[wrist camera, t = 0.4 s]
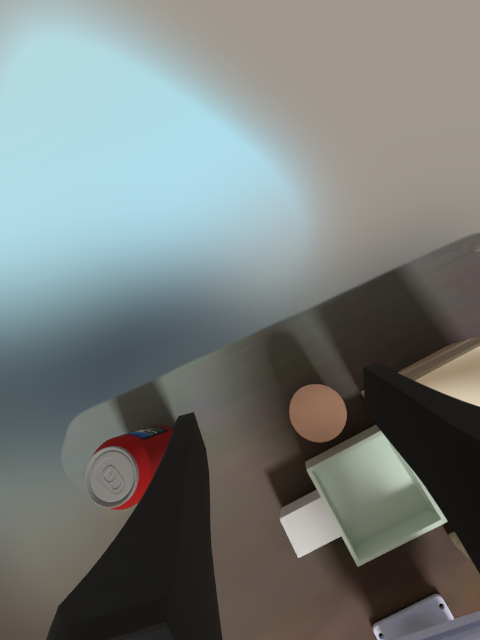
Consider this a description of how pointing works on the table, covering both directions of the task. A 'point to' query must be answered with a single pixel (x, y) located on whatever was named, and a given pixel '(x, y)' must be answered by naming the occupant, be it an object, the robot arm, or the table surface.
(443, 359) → the shelf
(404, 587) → the table surface
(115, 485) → the beverage can
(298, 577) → the table surface
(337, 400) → the pink-tan solid cylinder
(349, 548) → the tray
